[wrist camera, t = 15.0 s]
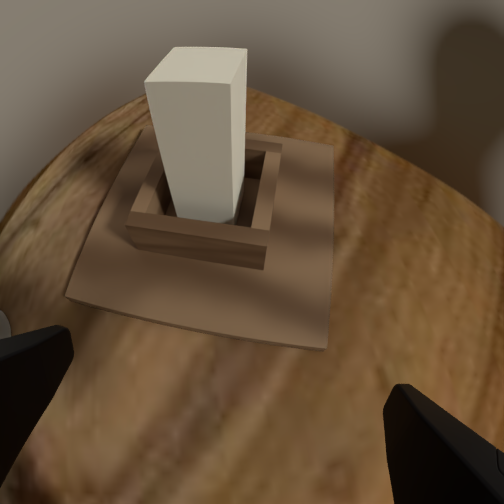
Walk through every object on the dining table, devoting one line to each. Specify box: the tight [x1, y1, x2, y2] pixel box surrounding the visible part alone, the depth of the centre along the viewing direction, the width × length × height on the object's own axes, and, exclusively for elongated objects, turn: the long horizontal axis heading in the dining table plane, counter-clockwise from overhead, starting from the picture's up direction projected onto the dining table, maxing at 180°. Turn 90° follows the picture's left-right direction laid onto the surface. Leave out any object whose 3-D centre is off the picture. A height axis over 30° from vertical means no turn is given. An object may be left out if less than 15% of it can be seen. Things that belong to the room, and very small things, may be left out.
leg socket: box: [65, 125, 334, 351], centre depth 24 cm, size 20×20×4 cm
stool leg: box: [144, 47, 247, 225], centre depth 20 cm, size 4×4×13 cm
